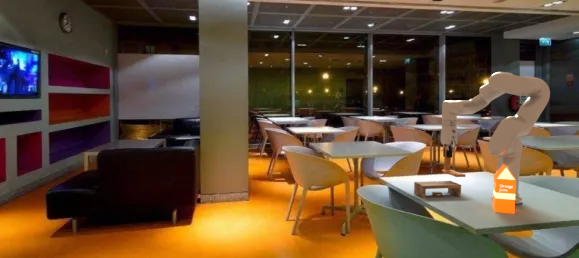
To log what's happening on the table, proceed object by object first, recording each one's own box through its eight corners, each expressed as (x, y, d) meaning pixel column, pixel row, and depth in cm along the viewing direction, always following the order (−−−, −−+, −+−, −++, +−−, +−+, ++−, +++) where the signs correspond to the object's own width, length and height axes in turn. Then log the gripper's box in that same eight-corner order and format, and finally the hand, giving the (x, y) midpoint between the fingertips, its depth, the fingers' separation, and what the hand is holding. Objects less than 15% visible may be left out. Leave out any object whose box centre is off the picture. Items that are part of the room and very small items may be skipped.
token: (444, 196, 204) (444, 193, 204) (434, 196, 203) (434, 194, 203) (439, 194, 209) (439, 191, 209) (430, 194, 208) (430, 191, 208)
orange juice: (511, 208, 182) (513, 164, 180) (514, 213, 173) (517, 167, 172) (491, 206, 184) (493, 163, 183) (494, 211, 176) (496, 166, 175)
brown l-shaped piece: (465, 176, 208) (466, 149, 206) (456, 177, 207) (457, 149, 206) (450, 171, 222) (451, 145, 221) (441, 171, 222) (442, 145, 221)
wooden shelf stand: (460, 196, 203) (461, 184, 202) (423, 198, 200) (423, 186, 199) (450, 192, 213) (450, 180, 212) (414, 193, 210) (414, 181, 209)
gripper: (463, 124, 211) (462, 159, 213) (447, 122, 227) (446, 154, 229) (450, 124, 210) (448, 159, 212) (435, 122, 226) (433, 155, 228)
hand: (447, 156), depth 220 cm, fingers closed on brown l-shaped piece
